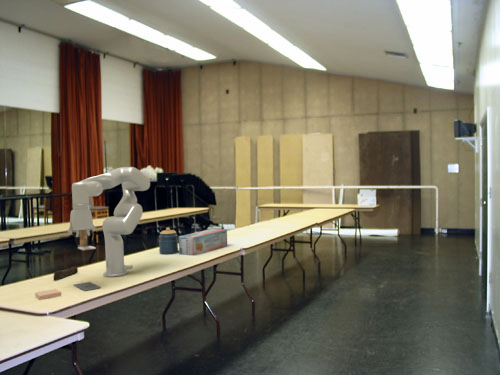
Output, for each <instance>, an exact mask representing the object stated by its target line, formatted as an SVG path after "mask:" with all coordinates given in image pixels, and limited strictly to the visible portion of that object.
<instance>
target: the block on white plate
mask: <svg viewBox="0 0 500 375" xmlns="http://www.w3.org/2000/svg"><path fill="white" fill-rule="evenodd" d="M79 237H80V245H77V249H78V250H81V251H90V250H96V249H97V247H96V246H92V245H88V244H87V229H86V230H79Z"/></svg>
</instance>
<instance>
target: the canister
mask: <svg viewBox="0 0 500 375" xmlns="http://www.w3.org/2000/svg"><path fill="white" fill-rule="evenodd" d="M159 234H160V235H158V238H159V240H158V243H159V245H158V246H159V250H158V252H159V254H160V255H174V254H177V253H178V254H179V239H178V237H179V236H178V234H177V231H175V230H174V229H171V228H170V227H166V228H165V230H161V232H159Z"/></svg>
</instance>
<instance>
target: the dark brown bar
mask: <svg viewBox="0 0 500 375" xmlns="http://www.w3.org/2000/svg"><path fill="white" fill-rule="evenodd" d="M78 272H79V269H78V267H77V266H71V267H69V268H66V269H65V270H56V271H55V272H54V273H53V281H59V280H62V279H63V278H64V277H68V276H70V275H73V274H77V273H78Z"/></svg>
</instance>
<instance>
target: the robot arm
mask: <svg viewBox="0 0 500 375" xmlns="http://www.w3.org/2000/svg"><path fill="white" fill-rule="evenodd" d="M120 184H121V188H122V193H123V194H122V197H121V199H120V201H119V202H118V204H117V205H116V207H115V208H114V211H113V216H108V217H106V218H105V219H104V220H103V221H102V226H101V227H102V230H103V232H102V233H103V235H104V248H105V271H104V272H103V276H104V277H106V278H107V277H110V278H111V277H112V278H113V277H114V278H116V277H121V276H122V277H123V276H126V275H127V274H128V270H132V269H133V268H134V266H133V264H129V265H126V264H125V256H124V249H125V248H124V240H123V238H122V236H121V235H124V236H125V235H130V234H132V233H133V232H134V230H135V229H136V227H137V225H138V224H139V222H140V220H141V219H142V216H143V212H144V211H143V207H142V205H141V204H139V203H138V198H137V196H136V194H135V192H138V191H139V192H144V191H147V190H149V189H150V187H151V181H150V179H149V177H148V176H147V174H144V173H143V172H142V171H141V170H139V169H138V168H136V167H133V166H123V167H117V168H115V169H112V170H110V171H108V172H105V173H102V174H98V175H96V176H91V177H87V178H85V179H82V180H80V181H78V182H73V183H72V185H71V194H72V197H71V198H72V199H71V200H72V210H71V211H70V215H69V216H70V217H69V218H70V219H69V228H68V229H67V232H68V233H69V234H71V235H72V236H74V238H75V244H76V246H78V245H80V237H79V230H86V229H87V245H88V244H89V242H90V236H91V234H92V233H93V232H95V231H96V229H97V228H96V226H95V225H94V219H93V215H92V210H91V209H90V208H92V207H93V206H92V205H93V204H92V203H91V204H90V201H89V200H90V199H89V197H99V196H100V195H101V194H102V193H103V191H104V190H108V189H113V188H115V187H116V186H119V185H120Z"/></svg>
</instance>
